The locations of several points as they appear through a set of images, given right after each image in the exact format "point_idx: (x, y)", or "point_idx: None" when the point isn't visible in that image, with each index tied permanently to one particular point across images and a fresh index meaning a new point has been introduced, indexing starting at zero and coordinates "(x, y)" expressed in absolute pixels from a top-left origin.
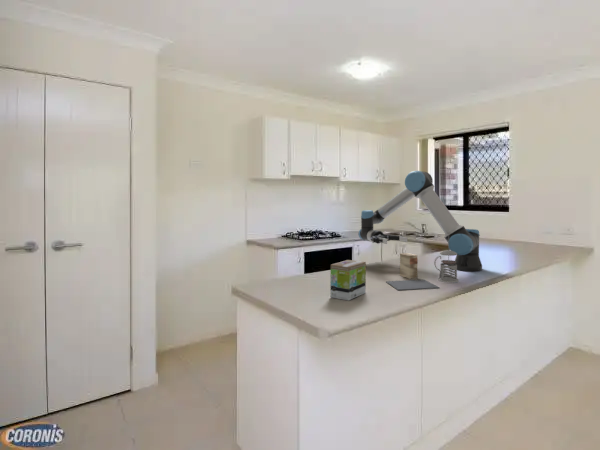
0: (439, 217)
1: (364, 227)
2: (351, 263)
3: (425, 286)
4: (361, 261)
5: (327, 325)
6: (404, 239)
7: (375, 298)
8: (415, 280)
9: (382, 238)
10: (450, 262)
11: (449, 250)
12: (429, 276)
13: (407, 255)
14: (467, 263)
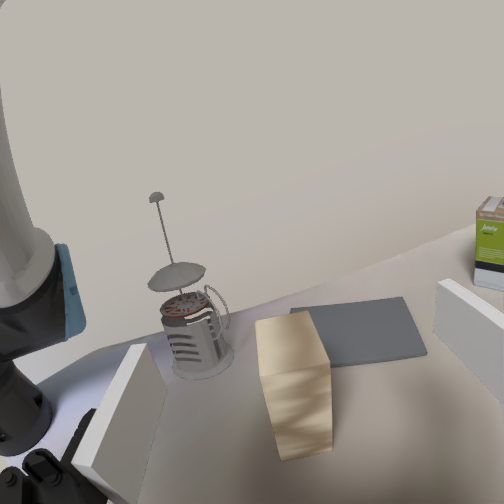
0: (12, 173)
1: None
2: (495, 201)
3: (322, 312)
4: (485, 209)
5: None
6: (148, 393)
7: (449, 268)
8: None
9: (496, 312)
10: (186, 301)
11: (173, 263)
12: (214, 408)
13: (311, 319)
14: (34, 387)
